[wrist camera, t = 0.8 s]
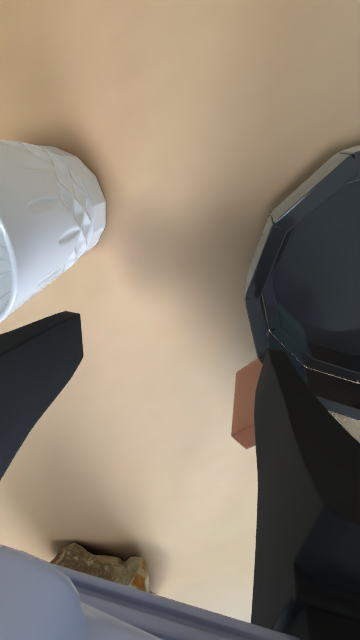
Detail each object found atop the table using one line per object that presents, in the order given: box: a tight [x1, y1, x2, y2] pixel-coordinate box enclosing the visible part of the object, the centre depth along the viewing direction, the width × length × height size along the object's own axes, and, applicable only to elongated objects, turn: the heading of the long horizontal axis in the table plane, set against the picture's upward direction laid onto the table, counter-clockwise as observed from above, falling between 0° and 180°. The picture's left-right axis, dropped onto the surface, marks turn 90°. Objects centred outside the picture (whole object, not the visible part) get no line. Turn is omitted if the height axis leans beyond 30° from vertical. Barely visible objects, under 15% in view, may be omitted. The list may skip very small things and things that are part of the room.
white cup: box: [0, 139, 106, 322], centre depth 16 cm, size 8×8×10 cm
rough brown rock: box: [50, 543, 156, 595], centre depth 39 cm, size 23×17×15 cm
